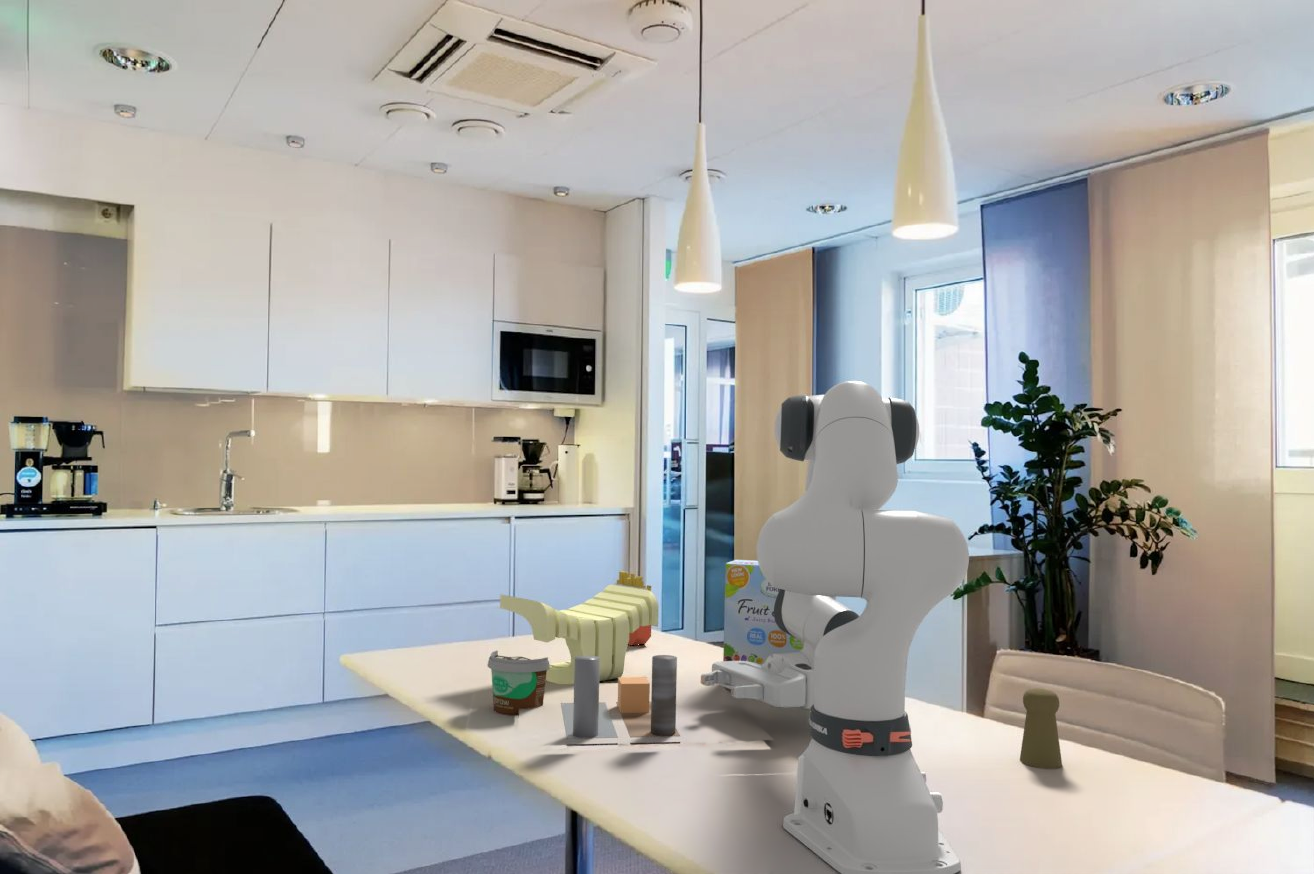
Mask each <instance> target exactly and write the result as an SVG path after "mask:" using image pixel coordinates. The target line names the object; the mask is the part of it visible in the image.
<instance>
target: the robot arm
mask: <svg viewBox="0 0 1314 874" xmlns="http://www.w3.org/2000/svg"><path fill="white" fill-rule="evenodd" d="M774 435H775V440H776V442H777V446H779V451H780V452H781V454H782V455H783V456H785V458H787V459H791V460H793V461H799V462H804V461H805V460H806V461H808V463H807V469H806V477H805V490H804V491H805V492H804V493H803V494H802V495H801V496H800V497H799V498H798V499H796V501H794V502H793V503H791V504H790V505H788V506H787V507H785V508H783V509H781V510H780V511H779V510H778V511H777V512H775V513H773V514H772V515H771V516H770V517H769V518H768V519H767V520H766V521H765V523H764V525H763V526H762V528H761V530H760V531H759V535H758V537H757V541H756V557H757V559H756V561H758V564H759V567H760V569H761V571H762V573H763V575H764V577H765V578H766V580H767V581H768V582H769V583H770V584H771V585H772V586H773V587H775V588H779V589H780V590H779V593H778V595H777V598H776V601H775V605H774V618H775V622H776V624H777V626H778V627H779V628H780V629H781V630H782V631H783V632H785V633H787V634H789V635H790V636H792V637H794V638H796V639H798V640H799V641H801V642H802V643H804V646H803V649H802V650H801V651H799V652H789V653H777V654H772V655H770V656H769V657H768V658H767V660H766V662H765V663H764V664H763V665H759V664H756V663H753V662H749V661H723V660H722V661H715V662H713V663H712V665H711V672H708V673H702V674H701V675H700V684H701V685H703V686H705V687H711V686H715V685H718V686H721V687H723V688H724V687H726V688H728V689H731V690H730V696H731V697H733V698H735V699H752V700H757V701H760V702H762V703H765V704H767V705H770V706H772V707H776V708H783V709H784V708H789V709H790V708H800V709H805V710H810V712H809V716H808V724H809V736H810V737H811V740H810V741H809V744H808V745H807V747H806V749H804V751H803V752H802V753H801V755H800V756H799V757H798V761H797V771H796V783H795V796H794V797H795V800H794V810H793V811H794V812H792V813H789V814H787V815H785V816H784V817H783V822H782V827H783V829H784V830H786V831H787V832H788V833H789V834H791V835H792V836H793V837H794V838H796V839H797V840H798V841H799V842H800V843H802V844H804V846H806V848H809V849H810V850H811V851H812V852H813V853H815V854H816V855H817V856H818V857H820V858H821V859H822V860H823V861H824V862H826V863H827V864H828V865H829V866H831V867H832V868H833V869H835V870H836V871H837V872H838V873H840V874H956V873H959V872H960V871H961V870H962V864H961V859H960V858H959V857H958V854H957V853H956V851H954V849H953V848H952V846H951V845H950V843H949V842H948V840H947V839H946V837H945V836H944V834H943V833H942V831H941V830H940V829H939V818H938V814H941V813H942V812H943V809H944V806H943V804H944V801H943V798H942V797H943V796H942V794H941V793H940V792H939V791H930V790H929V786H928V785H927V775H926V772H925V771H921V770H920V767H919V765H918V764H917V762H916V759H915V757H914V756H913V755H914V754H913V752H912V750H911V748H913V740H912V728H911V725H910V721H909V715H908V713H907V711H906V710H905V707H906V705H905V703H906V699H905V698H906V682H907V669H908V659H909V653H910V649H911V645H912V642H913V639H914V637H915V634H916V632H917V630H918V629H919V626H920V625H921V623H922V622H923V621H924V619H925V618H926V617H927V615H928V614H929V613H930V612H931V611H932V610H933V609H934V608H935V607H936V606H937V605H938V604H939V603H941V602H942V601H943V600H944V599H946V598H948V597H949V596H951V595H952V594H953V593H955V591H956V590H957V589H958V588H959V587H960V586H961V584H962V583H963V581H964V579H965V577H966V575H967V572H968V568H969V564H970V563H969V562H970V553H969V552H970V551H969V546H968V542H967V540H966V537H965V536H964V534H963V532H962V531H961V529H960V527H959V526H958V525H957V524H956V523H955V522H954V521H953V520H952V519H951V518H948V517H943V516H939V515H935V514H932V513H926V512H922V511H916V510H900V509H899V510H895V509H894V510H893V509H892V510H891V509H890V510H889V509H882V507H884V506H885V504H886V503H887V502H888V501H889V500H890V499H891V497H892V496H893V495H894V493H895V492H896V489H897V486H898V482H899V475H898V467H897V465H900V464H904V463H905V462H907V461H908V460H909V459H910V458H912V457H913V455H914V452H915V449H916V447H917V445H918V443H919V439H920V423H919V419H918V417H917V414H916V410H915V408H914V407H913V405H911V403H910V402H909V401H906V400H905V399H901V398H895V397H891V396H890V397H888V398H882V396H881V394H880V392H878V390H877V389H875V388H874V386H871V385H870V384H869V383H865V382H863V381H859V380H858V381H857V380H849V381H847V380H846V381H843V382H840V383H837V384H835V385H834V386H832V387H831V388H829V389H828V390H827V391H826V392H825V394H815V395H808V396H807V394H805V393H804V394H797V395H793V396H790V397H788V398H786V399H785V400H784V401H783V402H782V403H781V406H780V408H779V410H778V412H777V413H776V417H775V419H774ZM829 596H836V598H837V597H841V598H860V599H863V600H865V601H866V603H865V608H864V609H863V611H862V612H861V614H860V615H859V614H858V613H856V612H855V611H853V609H850V608H849V607H847V606H846V605H844V604H842V603H841V602H840V601H837V600H836V601H835V600H834V599H832V598H831V597H829ZM728 689H727V690H728Z"/></svg>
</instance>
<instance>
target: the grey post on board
mask: <svg viewBox="0 0 1314 874" xmlns="http://www.w3.org/2000/svg"><path fill="white" fill-rule="evenodd" d="M651 661H652V662H651V663H652V664H651V695H650V696H651V697H650V699H651V700H650V701H649V712H646V713H620V715H621V718H622V720H623V722H624V724H625V727H626V730H627V732H628V734H629V737H630V738H651V737H652V738H653V737H654V738H658V737H659V738H662V737H681V734H680V733H679V730H678V729H677V728H676V722H677V721H676V720H677V719H676V718H677V717H676V716H677V683H678V682H677V681H678V680H677V677H678V676H677V674H678V673H677V672H678V657H677V656H676V655H669V654H658V655H653V656H652V658H651ZM616 706H617V707H618V701H616ZM670 744H671V745H672V744H673V745H675V744H681V741H663V742H662V741H658V742H657V741H655V742H651V741H650V742H629V745H631V746H633V745H670Z"/></svg>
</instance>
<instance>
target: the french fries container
mask: <svg viewBox="0 0 1314 874" xmlns="http://www.w3.org/2000/svg"><path fill="white" fill-rule="evenodd" d="M618 574H619V575H618V579H616V582H615V583H614V585H617V586H624V587H630V588H637V589H644V590H649V591H651V592H652V585H645V584H644V580H643V576H636V577H635V575H636V573H634V572H633V573H631V572H630V573H629V572H627V571H624V570H623V571H622V570H621V571H620V570H619V571H618ZM651 637H652V626H651V625H648V626H639V628H638V629H637V630H635V631H634V632H633V633H629V642H628V644H629V645H628V646H630V645H636V646H639V645H638V644H645V645H646V644H647V643H648V641H649V640H650V638H651Z"/></svg>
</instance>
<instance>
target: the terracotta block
mask: <svg viewBox="0 0 1314 874" xmlns="http://www.w3.org/2000/svg"><path fill="white" fill-rule="evenodd" d="M650 686H651V685H650V682H649V680H648V678H647V677H646V676H636V677H635V676H633V677H632V676H631V677H630V676H628V677H627V676H626V677H624V676H623V677H622V676H621V677H618V678H617V702H618V706H617V708H618V710H619V713H620V714H621V713H646V712H649V702H650V696H651V695H650V692H651V691H650V690H651V688H650Z"/></svg>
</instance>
